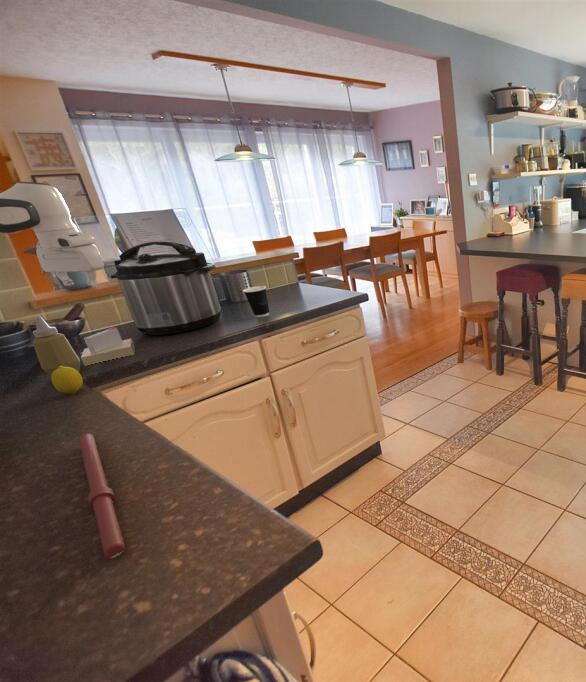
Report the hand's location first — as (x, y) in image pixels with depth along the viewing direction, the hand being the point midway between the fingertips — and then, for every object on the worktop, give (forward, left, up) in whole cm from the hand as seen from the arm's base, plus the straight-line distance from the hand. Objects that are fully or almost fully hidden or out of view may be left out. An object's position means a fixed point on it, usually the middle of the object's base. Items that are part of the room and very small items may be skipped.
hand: (81, 285), depth 133 cm
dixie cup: (+46, +7, -23) cm, 52 cm away
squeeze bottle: (-10, -11, -23) cm, 28 cm away
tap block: (0, -1, -23) cm, 23 cm away
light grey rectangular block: (0, -1, -20) cm, 20 cm away
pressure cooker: (+21, +20, -23) cm, 37 cm away
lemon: (-7, -30, -23) cm, 39 cm away
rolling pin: (+3, -90, -23) cm, 93 cm away
